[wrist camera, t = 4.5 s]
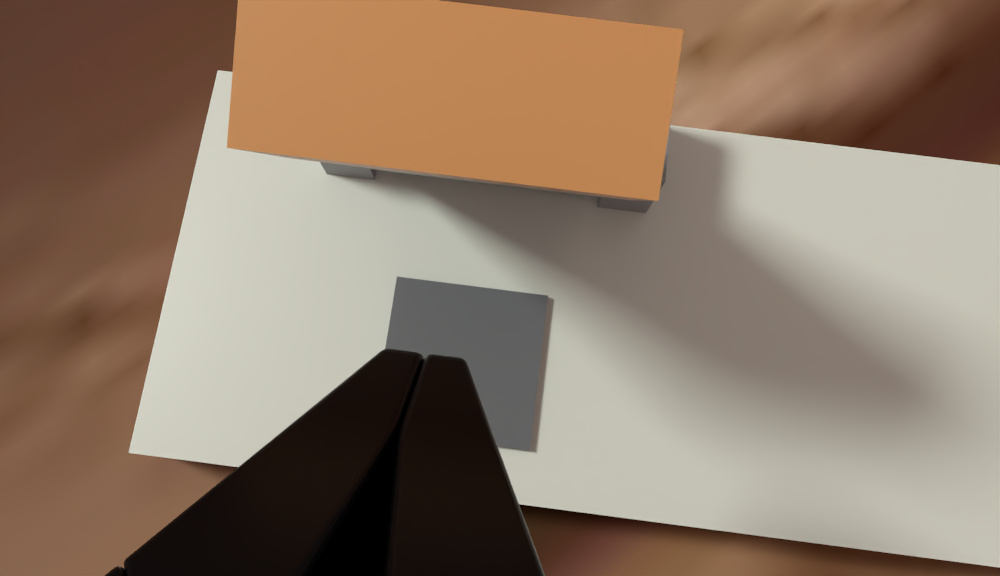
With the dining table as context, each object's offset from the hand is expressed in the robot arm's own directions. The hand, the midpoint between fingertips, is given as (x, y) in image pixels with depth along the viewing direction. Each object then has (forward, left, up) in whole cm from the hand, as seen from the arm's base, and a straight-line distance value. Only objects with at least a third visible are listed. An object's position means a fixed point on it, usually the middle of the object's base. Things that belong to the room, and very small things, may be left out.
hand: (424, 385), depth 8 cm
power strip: (+3, -6, -8) cm, 11 cm away
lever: (+6, 0, -7) cm, 9 cm away
